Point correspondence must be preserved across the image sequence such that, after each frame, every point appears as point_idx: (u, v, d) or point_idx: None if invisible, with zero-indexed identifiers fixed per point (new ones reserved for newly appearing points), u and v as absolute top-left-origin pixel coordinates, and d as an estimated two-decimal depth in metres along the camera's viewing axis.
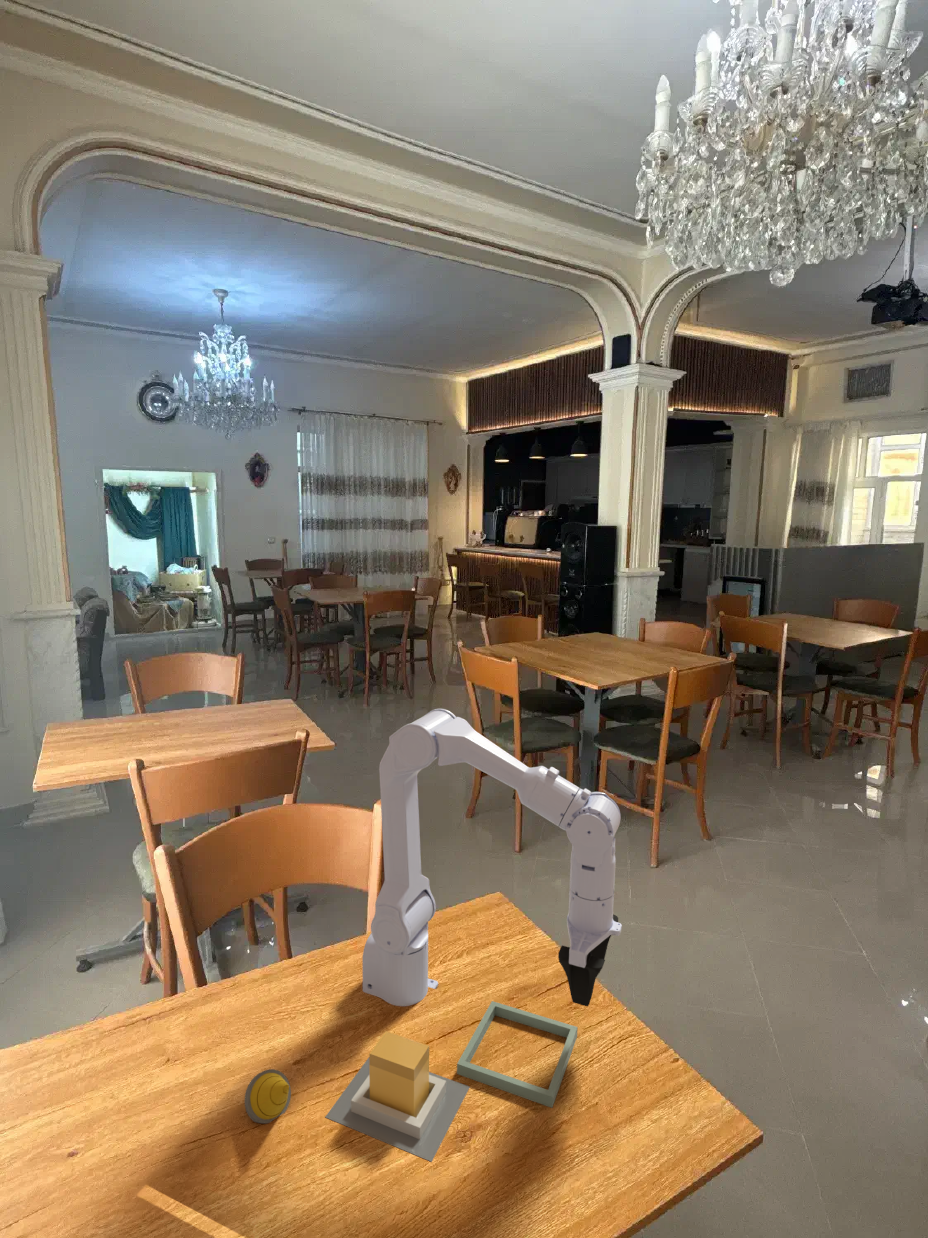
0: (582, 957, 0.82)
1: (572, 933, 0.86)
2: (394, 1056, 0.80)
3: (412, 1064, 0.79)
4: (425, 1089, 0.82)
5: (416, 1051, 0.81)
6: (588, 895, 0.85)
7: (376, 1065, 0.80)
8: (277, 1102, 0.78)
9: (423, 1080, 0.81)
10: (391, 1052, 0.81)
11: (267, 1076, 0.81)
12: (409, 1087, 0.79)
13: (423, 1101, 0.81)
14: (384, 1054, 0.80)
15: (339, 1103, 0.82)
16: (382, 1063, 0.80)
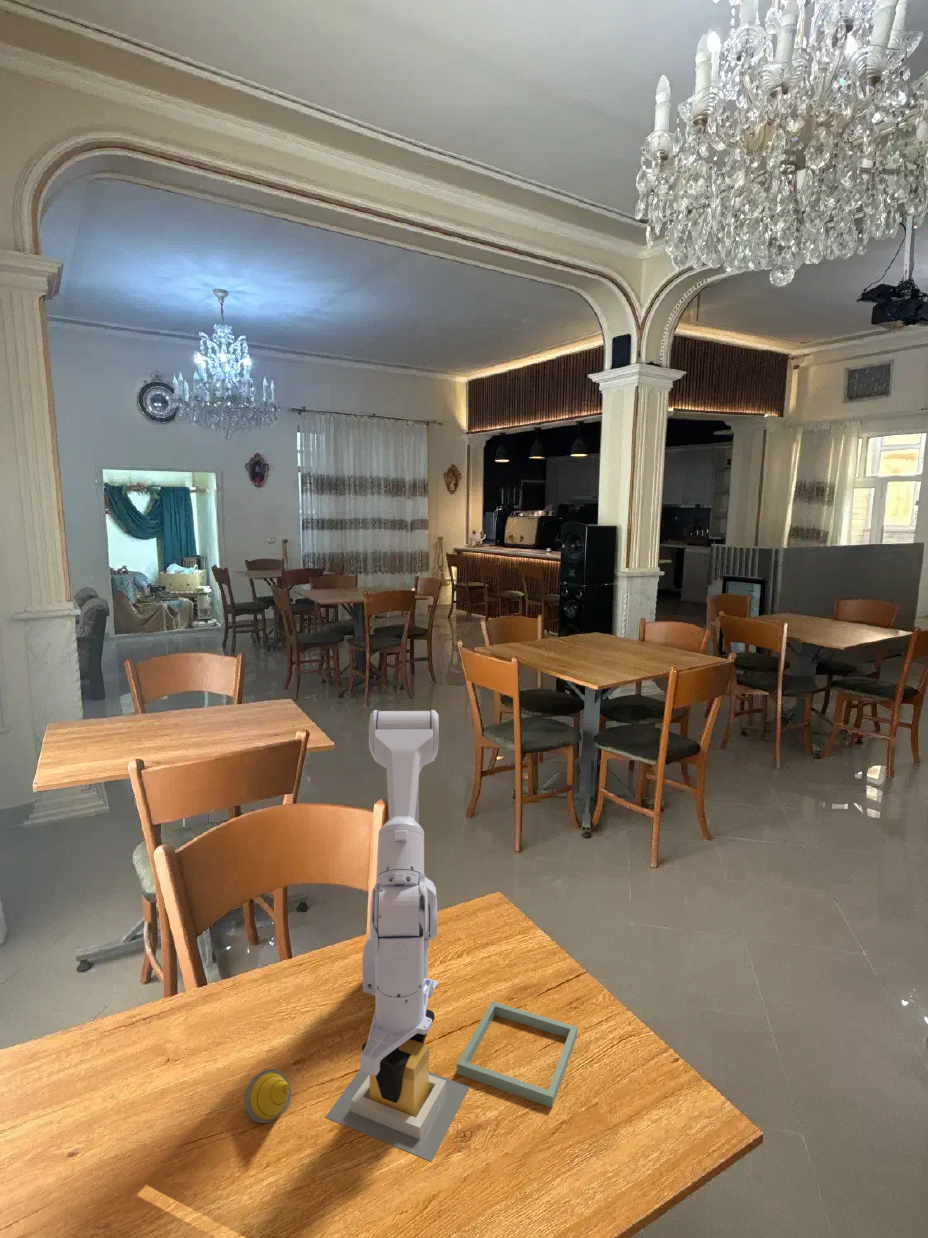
0: (373, 1064, 0.74)
1: (374, 1032, 0.78)
2: None
3: (412, 1064, 0.79)
4: (425, 1089, 0.82)
5: (416, 1051, 0.81)
6: (375, 978, 0.80)
7: None
8: (277, 1102, 0.78)
9: (423, 1080, 0.81)
10: None
11: (267, 1076, 0.81)
12: (409, 1087, 0.79)
13: (423, 1101, 0.81)
14: None
15: (339, 1103, 0.82)
16: None
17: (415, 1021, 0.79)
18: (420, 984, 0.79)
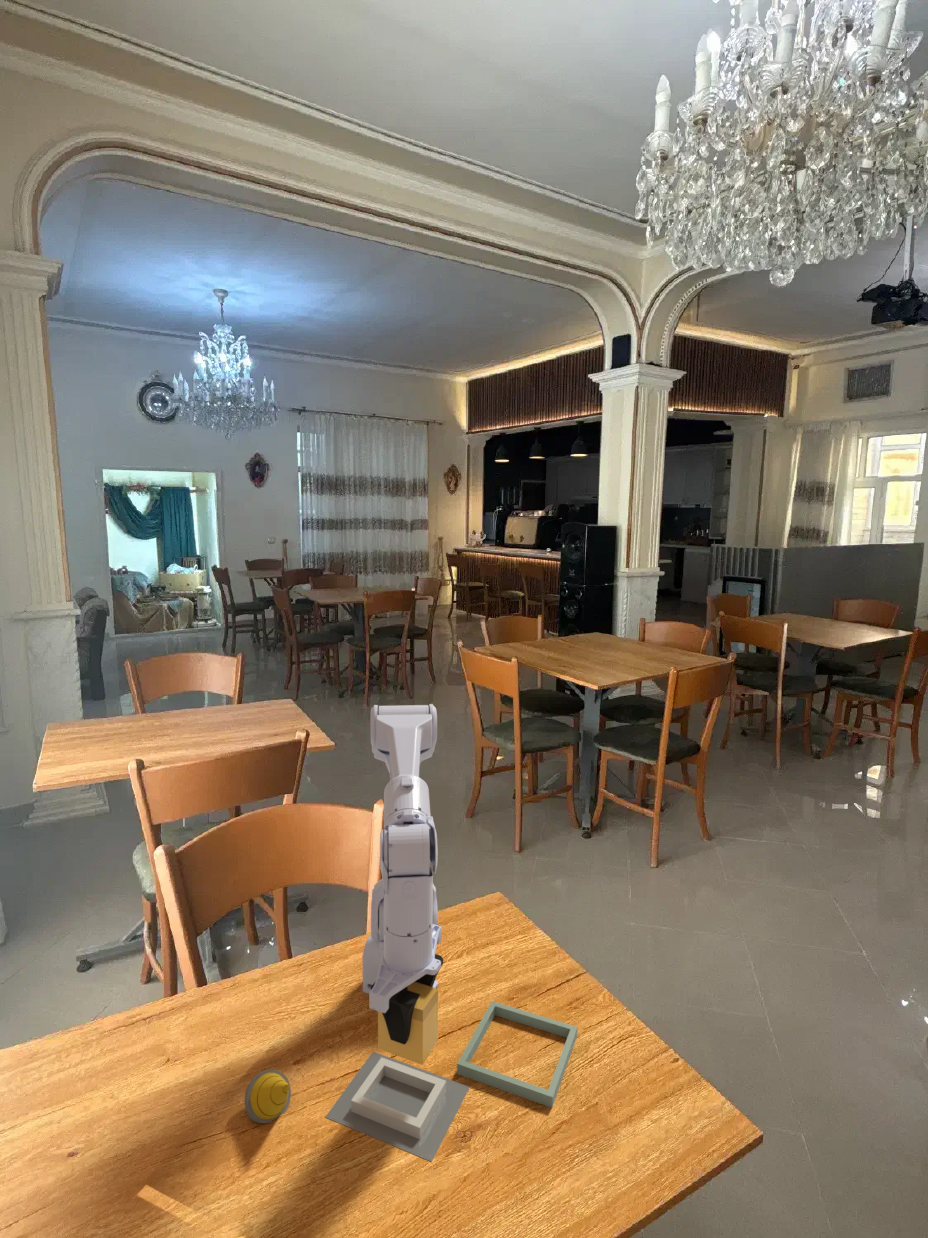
0: (382, 1001, 0.73)
1: (383, 972, 0.78)
2: None
3: (421, 1005, 0.79)
4: (434, 1032, 0.81)
5: (425, 994, 0.81)
6: (384, 919, 0.79)
7: None
8: (277, 1102, 0.78)
9: (432, 1023, 0.81)
10: None
11: (267, 1076, 0.81)
12: (418, 1028, 0.78)
13: (432, 1044, 0.81)
14: None
15: (339, 1103, 0.82)
16: None
17: (424, 962, 0.78)
18: (430, 924, 0.79)
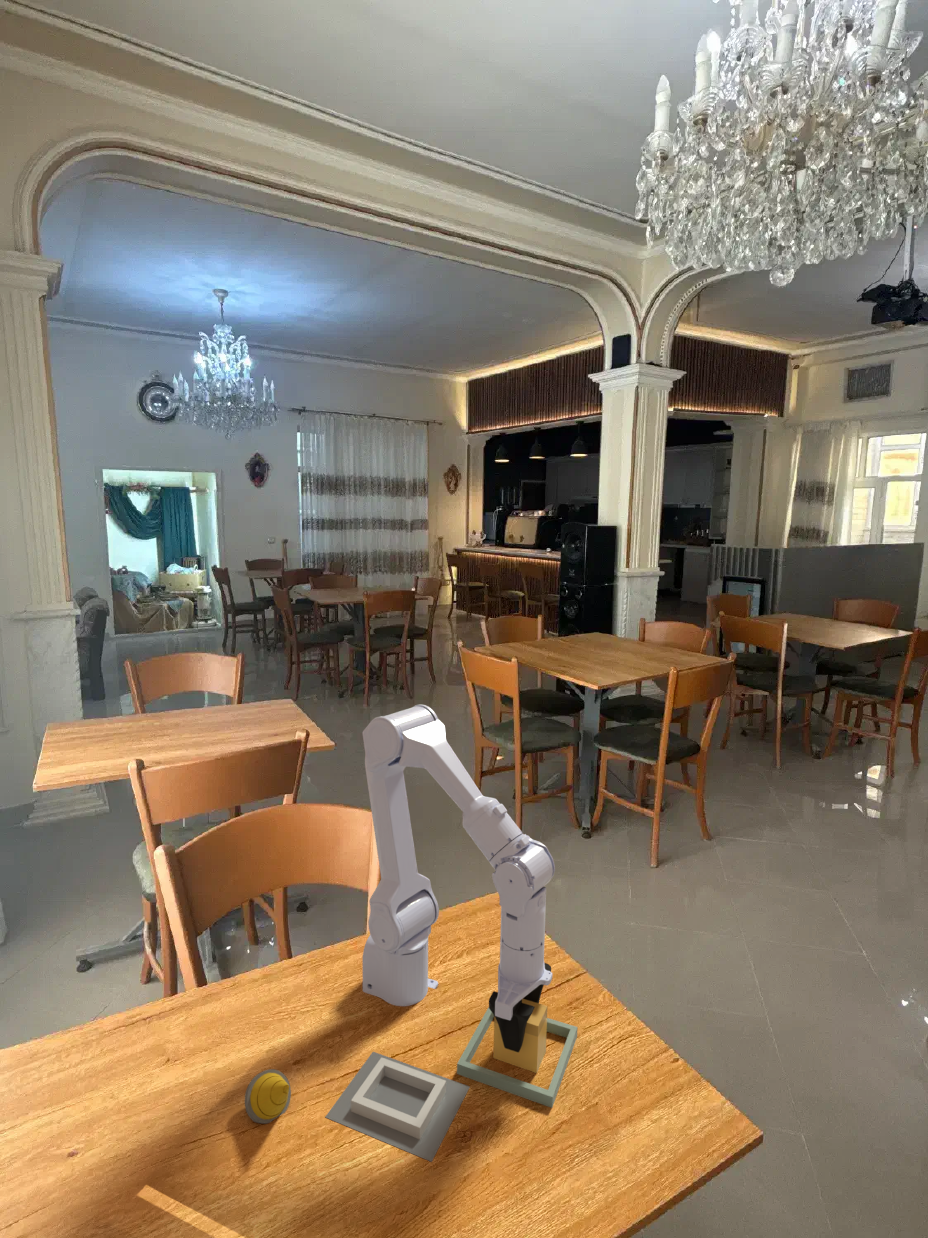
0: (507, 1010, 0.81)
1: (501, 983, 0.86)
2: None
3: (535, 1021, 0.87)
4: (544, 1046, 0.89)
5: (536, 1010, 0.89)
6: (511, 944, 0.85)
7: None
8: (277, 1102, 0.78)
9: (543, 1037, 0.89)
10: None
11: (267, 1076, 0.81)
12: (533, 1042, 0.86)
13: (542, 1056, 0.89)
14: None
15: (339, 1103, 0.82)
16: None
17: (539, 973, 0.86)
18: None
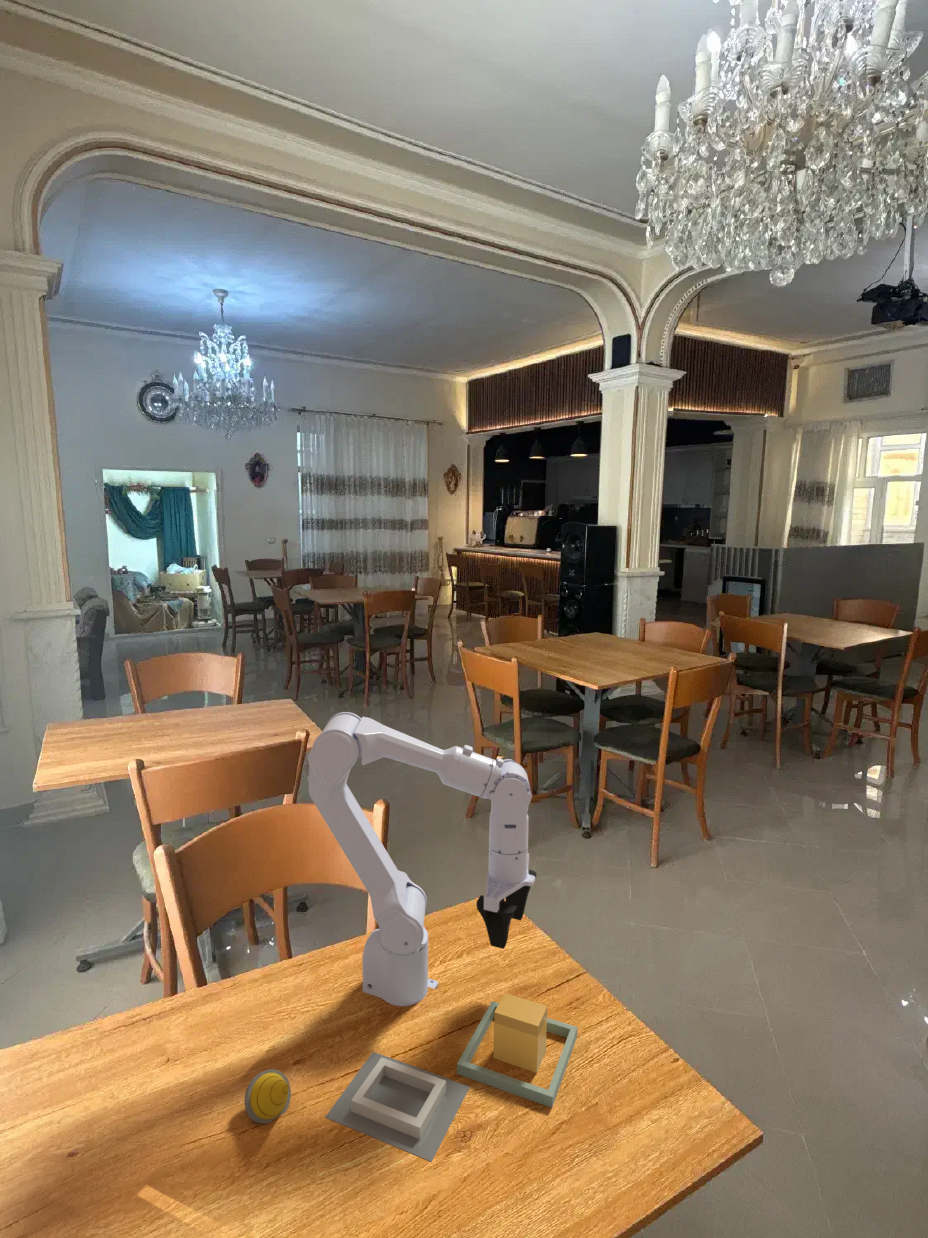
0: (494, 903, 0.93)
1: (490, 884, 0.97)
2: (518, 1015, 0.88)
3: (535, 1021, 0.87)
4: (544, 1046, 0.89)
5: (536, 1010, 0.89)
6: (511, 850, 0.96)
7: (501, 1023, 0.88)
8: (277, 1102, 0.78)
9: (543, 1037, 0.89)
10: (514, 1011, 0.88)
11: (267, 1076, 0.81)
12: (533, 1042, 0.86)
13: (542, 1056, 0.89)
14: (508, 1013, 0.88)
15: (339, 1103, 0.82)
16: (507, 1021, 0.88)
17: (523, 876, 0.98)
18: None
